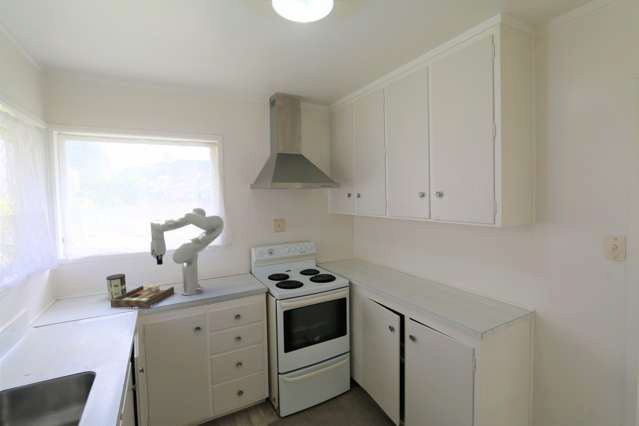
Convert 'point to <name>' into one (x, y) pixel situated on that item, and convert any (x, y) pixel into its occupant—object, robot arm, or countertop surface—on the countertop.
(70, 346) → the countertop surface
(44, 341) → the countertop surface
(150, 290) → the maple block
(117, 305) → the wooden tray
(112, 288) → the coffee can
